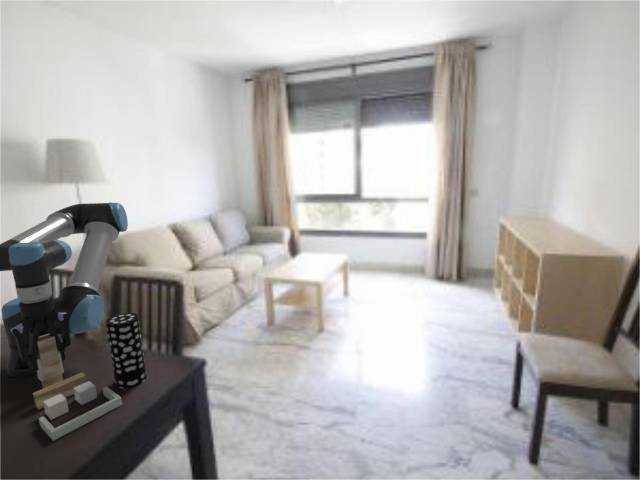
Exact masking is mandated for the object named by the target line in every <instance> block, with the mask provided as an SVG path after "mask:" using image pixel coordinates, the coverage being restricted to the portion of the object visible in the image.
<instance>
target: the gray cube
mask: <svg viewBox="0 0 640 480" xmlns="http://www.w3.org/2000/svg"><path fill="white" fill-rule="evenodd" d="M73 389H74V394H73V395H74V399H75V401H76V402H77V403H78V404H80V405H81V406H82V405H85V404H87V403H89V402H91V401H93V400H95V399H97V398H98V394H97V388H96V385H95V384H93V383H92V382H91V381H90V380H89V381H88V380H87V382H86V383H83V384H81V385H79V386H77V387H74V388H73Z"/></svg>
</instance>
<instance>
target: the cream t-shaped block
mask: <svg viewBox="0 0 640 480" xmlns="http://www.w3.org/2000/svg"><path fill="white" fill-rule="evenodd" d="M37 345H38V349H37V357H38V358H40V359H41V364H42V369H43V374H44V379H45V380H44V381H41V386H42V389H39V390H36V391H35V392H32V398H33V401H34V405H35V406H34V407H35V408H36V409H37V410H38V411H40V410H43V409H44V404H43V401H45V400H47V399H50V398H52V397H54V396H57V395H59V394H62V395H63V396H64V397H65V398H66V399H67V398H68V397H70V396H72V395H74V389H73V388H74V387H77V386H79V385H81V384H83V383H86V382H88V379H87V375H86V374H85V372H79V373H76V374H75V375H72V376H69V378H65V379H64V378H63V373H62V372H61V367H60V361H59V356H58V351H57V346H56V341H55V337H54V336H51V335H50V334H46V335H43V336H40V337H38V342H37Z"/></svg>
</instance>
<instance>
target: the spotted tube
mask: <svg viewBox="0 0 640 480" xmlns="http://www.w3.org/2000/svg"><path fill="white" fill-rule="evenodd" d="M105 324H106V325H105V326H106V332H107V337H108V344H109V352H110V357H111V363H112V369H113V375H114V376H113V377H114V381H115V386H116V387H117V388H118V389H131V388H134V387H136V386H137V387H138V386H139V385H141V384H142V383H144V382H145V381H146V379H147V375H148V374H147V368H146V362H145V356H144V355H145V353H144V348H143V347H144V346H143V341H142V332H141V327H140V319H139V314H137V313H135V312H124V313H119V314H115V315H113V316H111V317H109V318H108V319H106V321H105Z"/></svg>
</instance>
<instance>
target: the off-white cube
mask: <svg viewBox="0 0 640 480" xmlns="http://www.w3.org/2000/svg"><path fill="white" fill-rule="evenodd" d="M43 404H44V408H43V409H44V413H45V415H46V416H47V417H48V418H49V419H50V420H51V421H52V420H53V419H56V418H59V417H60V416H62V415H64V414H66V413H69V406H68V399H67V397H66V398H65V397H64V396H63V395H62V394H59V395H57V396H54V397H52V398H50V399H47V400H45V401H43Z"/></svg>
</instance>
